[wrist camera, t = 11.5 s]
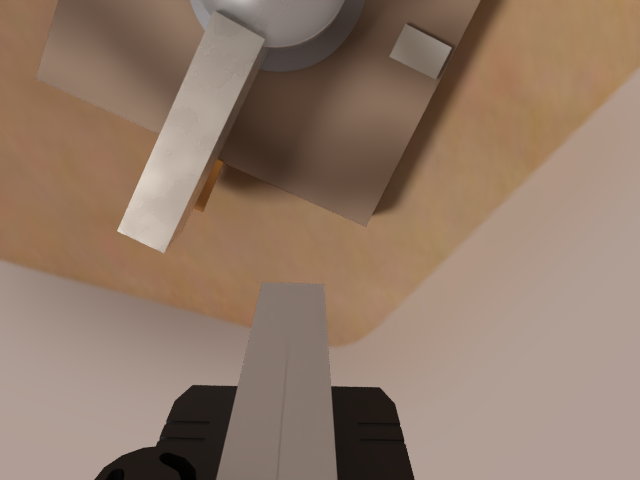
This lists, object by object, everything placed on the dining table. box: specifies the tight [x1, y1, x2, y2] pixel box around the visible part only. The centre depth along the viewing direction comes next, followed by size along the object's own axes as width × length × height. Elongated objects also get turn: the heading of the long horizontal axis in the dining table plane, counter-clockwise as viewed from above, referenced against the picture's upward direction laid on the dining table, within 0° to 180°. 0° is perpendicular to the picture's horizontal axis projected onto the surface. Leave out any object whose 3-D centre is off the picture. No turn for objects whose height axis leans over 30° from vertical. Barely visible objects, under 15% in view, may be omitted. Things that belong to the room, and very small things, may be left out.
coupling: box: [118, 0, 345, 253], centre depth 25 cm, size 18×7×4 cm, turn 152°
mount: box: [35, 0, 481, 227], centre depth 28 cm, size 23×20×4 cm
